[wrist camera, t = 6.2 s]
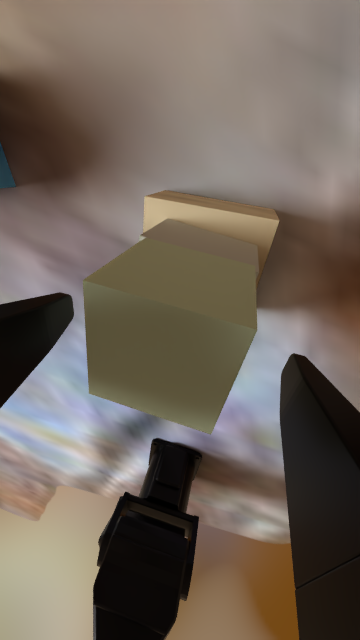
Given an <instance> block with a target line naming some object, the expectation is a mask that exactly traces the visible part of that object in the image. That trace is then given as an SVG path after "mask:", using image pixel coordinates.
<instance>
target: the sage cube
mask: <svg viewBox="0 0 360 640" xmlns="http://www.w3.org/2000/svg"><path fill="white" fill-rule="evenodd" d="M83 291H84V309H85V328H86V346H87V364H88V383H89V394H92V395H95V396H98V397H101V398H104V399H107V400H110V401H113V402H116V403H119V404H122V405H125V406H128V407H131V408H134V409H137V410H140V411H143V412H146V413H149V414H151V415H154V416H157V417H160V418H163V419H166V420H169V421H172V422H175V423H178V424H181V425H184V426H187V427H190V428H193V429H196V430H199V431H202V432H205V433H208V434H211V433H212V431H213V429H214V426H215V424H216V422H217V420H218V417H219V415H220V413H221V410H222V408H223V406H224V404H225V401H226V399H227V397H228V395H229V392H230V390H231V388H232V386H233V383H234V381H235V379H236V377H237V374H238V372H239V370H240V368H241V365H242V363H243V361H244V359H245V356H246V354H247V352H248V350H249V347H250V345H251V343H252V341H253V338H254V336H255V334H256V332H257V306H256V274H255V266H254V265H251V264H247V263H243V262H239V261H235V260H231V259H227V258H223V257H219V256H216V255H212V254H208V253H204V252H200V251H196V250H192V249H188V248H184V247H180V246H177V245H173V244H169V243H165V242H161V241H157V240H153V239H149V238H144V239H143V240H141V241H140V242H138V243H137V244H135V245H134V246H133V247H131V248H130V249H128V250H127V251H125V252H124V253H122V254H121V255H119V256H118V257H116V258H115V259H113V260H112V261H110V262H109V263H108V264H106V265H105V266H103V267H102V268H100V269H99V270H97V271H96V272H94V273H93V274H91V275H90V276H88V277H87V278H85V279H84V280H83Z"/></svg>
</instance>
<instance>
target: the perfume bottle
mask: <svg viewBox="0 0 360 640" xmlns="http://www.w3.org/2000/svg"><path fill="white" fill-rule="evenodd" d="M9 187H16V185H15V182H14V180H13V177H12V174H11V171H10V168H9V165H8V162H7V160H6V157H5V154H4V151H3V148H2V145H1V142H0V188H9Z"/></svg>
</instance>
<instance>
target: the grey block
mask: <svg viewBox="0 0 360 640" xmlns="http://www.w3.org/2000/svg"><path fill="white" fill-rule="evenodd" d="M144 238H149V239H153V240H157V241H161V242H165V243H169V244H173V245H177V246H180V247H184V248H188V249H192V250H196V251H200V252H204V253H208V254H212V255H216V256H219V257H223V258H227V259H231V260H235V261H239V262H243V263H247V264H251V265H254V266H255V274H256V279H257V276H258V274H259V262H258V248H257V245H255V244H251V243H248V242H245V241H241V240H238V239H235V238H232V237H228V236H225V235H222V234H218V233H215V232H212V231H208V230H205V229H202V228H198V227H195V226H192V225H188V224H185V223H182V222H178V221H175V220H172V219H168V218H167V219H165V220H164V221H162V222H161V223H159V224H157V225H156V226H154V227H153V228H151V229H149V230H148V231H146V232H145V233H143V234H141V235H140V238H139V242H140V241H141V240H143V239H144Z"/></svg>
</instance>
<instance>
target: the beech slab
mask: <svg viewBox="0 0 360 640" xmlns="http://www.w3.org/2000/svg"><path fill="white" fill-rule="evenodd" d="M167 218H168V219H172V220H175V221H178V222H182V223H185V224H188V225H192V226H195V227H198V228H202V229H205V230H208V231H212V232H215V233H218V234H222V235H225V236H228V237H232V238H235V239H238V240H241V241H245V242H248V243H251V244H255V245H257V248H258V262H259V274H258V276H257V279H256V289H257V286H258V283H259V280H260V277H261V274H262V271H263V268H264V265H265V262H266V259H267V257H268V254H269V251H270V248H271V245H272V242H273V239H274V236H275V233H276V230H277V227H278V224H279V219H278V217H277V215H276V213H275V211H274V209H269V208H263V207H257V206H252V205H246V204H240V203H235V202H229V201H223V200H218V199H212V198H206V197H200V196H195V195H189V194H183V193H178V192H172V191H166V190H165V191H161V192H158V193H154V194H151V195H147V196H145V202H144V226H143V233H145V232H146V231H148V230H149V229H151V228H153V227H154V226H156V225H157V224H159V223H161V222H162V221H164V220H165V219H167Z"/></svg>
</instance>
